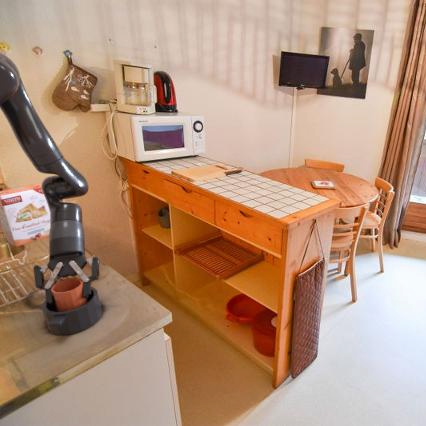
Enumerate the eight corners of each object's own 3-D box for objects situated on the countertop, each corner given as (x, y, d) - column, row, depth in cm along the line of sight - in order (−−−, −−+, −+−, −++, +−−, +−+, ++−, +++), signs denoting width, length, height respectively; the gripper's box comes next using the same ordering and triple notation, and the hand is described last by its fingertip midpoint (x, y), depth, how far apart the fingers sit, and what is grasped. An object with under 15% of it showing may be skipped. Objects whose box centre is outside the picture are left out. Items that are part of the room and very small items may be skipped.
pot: (32, 346, 77) (24, 323, 74) (68, 301, 92) (62, 281, 90) (86, 341, 80) (80, 319, 77) (112, 298, 95) (108, 278, 92)
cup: (54, 322, 82) (45, 294, 78) (67, 306, 87) (59, 278, 84) (83, 320, 83) (75, 292, 79) (93, 304, 89) (86, 277, 85)
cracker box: (17, 250, 114) (-1, 195, 106) (8, 245, 117) (-11, 192, 109) (60, 235, 126) (47, 185, 118) (52, 231, 128) (38, 182, 120)
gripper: (27, 239, 80) (27, 305, 75) (95, 231, 87) (99, 292, 82) (39, 248, 87) (39, 309, 82) (101, 240, 93) (105, 296, 88)
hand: (69, 300), depth 82 cm, fingers closed on cup, 6 cm apart
